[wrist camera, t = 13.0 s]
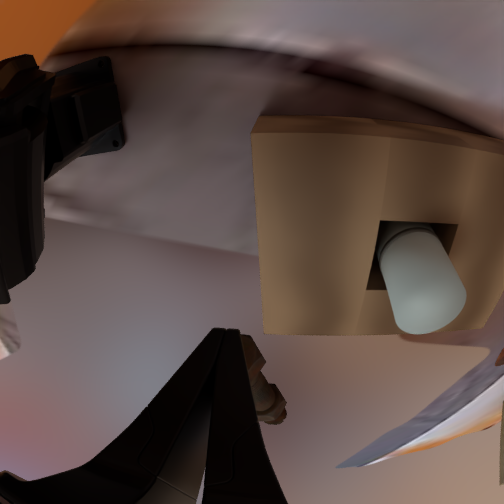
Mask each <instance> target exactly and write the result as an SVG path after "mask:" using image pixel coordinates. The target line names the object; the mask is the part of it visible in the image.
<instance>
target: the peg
mask: <svg viewBox="0 0 504 504" xmlns="http://www.w3.org/2000/svg"><path fill="white" fill-rule="evenodd" d="M375 251H376V254H377V257H378V261H379V266H380V270H381V273H382V275H383V277H384V281H385V284H386V288H387V291H388V295H389V298H390V302H391V306H392V310H393V313H394V317H395V321H396V324H397V326H398V327H399V328H400V329H401V330H403V331H405V332H407V333H411V334H425V333H430V332H433V331H436V330H438V329H440V328H442V327H444V326H446V325H447V324H449V323H450V322H451V321H453V320H454V319H455V318H456V317H457V316H458V314H459V313H460V312H461V310H462V309H463V307H464V305H465V302H466V290H465V288H464V286H463V284H462V282H461V280H460V278H459V276H458V274H457V272H456V270H455V268H454V266H453V264H452V262H451V261H450V259H449V257H448V255H447V253H446V252H445V250H444V248H443V245H442V243H441V241H440V239H439V238H438V236H437V235H436V234H435V233H434V231H433V229H432V228H431V226H430V224H429V223H428V222H410V221H387V220H380V223H379V228H378V234H377V239H376V245H375Z"/></svg>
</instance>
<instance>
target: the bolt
mask: <svg viewBox="0 0 504 504" xmlns="http://www.w3.org/2000/svg"><path fill="white" fill-rule="evenodd" d="M241 339H242V344H243V349H244V354H245V359H246V364H247V369H248V374H249V378H250V383H251V388H252V393H253V397H254V402H255V407H256V412H257V416H258V421H264V422H265V423H267V424H274V425H277V424H281V423H282V422H283V419H285V418H286V415H287V413H286V410H285V405H286V403H287V402H286V401H285V399H284V397H283V396H282V394H281V393H280V391H279V389H278V388H277V387H276V385H275V384H272V383H271V384H270V383H268V382H267V380H266V379H265V377H264V375H263V374H262V372H261V371H260V370H261V369H262V367H263V366H264V364H265V363H266V361H265V359H264V357H263V356H262V354H261V353H260V351H259V349H258V347H257V346H256V344H255V342H254V341H253V339H252V337H251V336H250V335H245V334H241Z"/></svg>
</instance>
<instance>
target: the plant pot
mask: <svg viewBox="0 0 504 504" xmlns="http://www.w3.org/2000/svg"><path fill="white" fill-rule="evenodd" d="M500 439H501V440H500V485H503V484H504V401H503V408H502V421H501V438H500Z"/></svg>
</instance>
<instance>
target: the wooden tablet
mask: <svg viewBox="0 0 504 504" xmlns="http://www.w3.org/2000/svg"><path fill="white" fill-rule="evenodd" d="M503 364H504V348H503V349H502V351H501V353H500V355H499V357H498V358H497V361H496V363H495V366H500V365H503Z"/></svg>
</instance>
